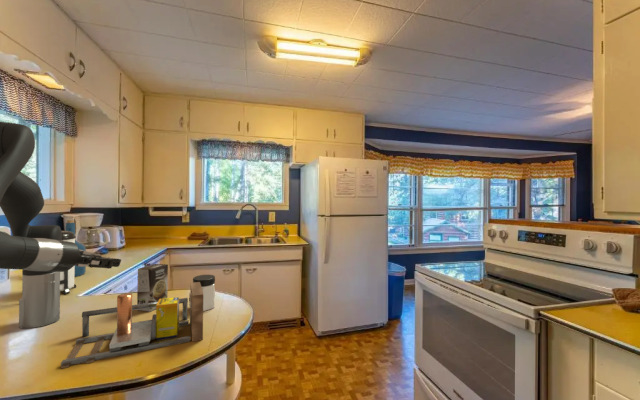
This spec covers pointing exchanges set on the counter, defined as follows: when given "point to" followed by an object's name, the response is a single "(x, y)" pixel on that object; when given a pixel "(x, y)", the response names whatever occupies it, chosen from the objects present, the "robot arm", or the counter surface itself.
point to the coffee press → (69, 275)
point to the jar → (207, 290)
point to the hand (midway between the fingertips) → (107, 259)
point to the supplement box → (167, 318)
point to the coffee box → (152, 284)
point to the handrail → (113, 310)
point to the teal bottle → (71, 227)
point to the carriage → (131, 326)
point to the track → (100, 339)
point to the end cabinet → (196, 311)
